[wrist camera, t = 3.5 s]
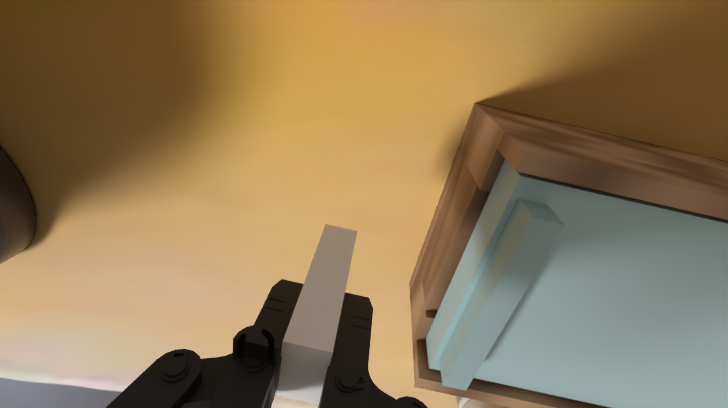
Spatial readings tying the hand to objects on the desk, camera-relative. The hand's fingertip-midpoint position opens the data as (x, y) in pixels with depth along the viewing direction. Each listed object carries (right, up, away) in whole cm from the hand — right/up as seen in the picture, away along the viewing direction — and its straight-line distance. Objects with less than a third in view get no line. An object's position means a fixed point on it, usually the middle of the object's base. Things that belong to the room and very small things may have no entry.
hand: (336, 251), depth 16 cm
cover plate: (+15, -3, +1) cm, 15 cm away
